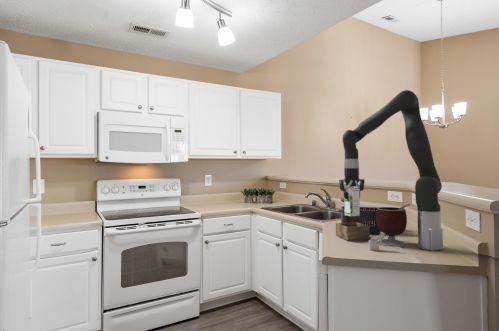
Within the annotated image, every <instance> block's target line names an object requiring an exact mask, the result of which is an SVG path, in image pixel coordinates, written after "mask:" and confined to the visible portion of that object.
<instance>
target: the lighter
mask: <svg viewBox="0 0 499 331" xmlns="http://www.w3.org/2000/svg"><path fill="white" fill-rule="evenodd" d="M385 236H386V234H385V233H383V232H381V233H380V234H378V237H377V238H376V237H372V238H370V240H368V250H369V251H380V243H379V241H380V242H382V240H383V239H385V238H384V237H385Z"/></svg>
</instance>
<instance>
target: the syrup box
mask: <svg viewBox="0 0 499 331" xmlns="http://www.w3.org/2000/svg"><path fill="white" fill-rule="evenodd" d="M347 192H348V199H345V198H344V207H345V215H347V216H360V207H361V206H360V198H359V189H355V188H349V189H348V191H347Z"/></svg>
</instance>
